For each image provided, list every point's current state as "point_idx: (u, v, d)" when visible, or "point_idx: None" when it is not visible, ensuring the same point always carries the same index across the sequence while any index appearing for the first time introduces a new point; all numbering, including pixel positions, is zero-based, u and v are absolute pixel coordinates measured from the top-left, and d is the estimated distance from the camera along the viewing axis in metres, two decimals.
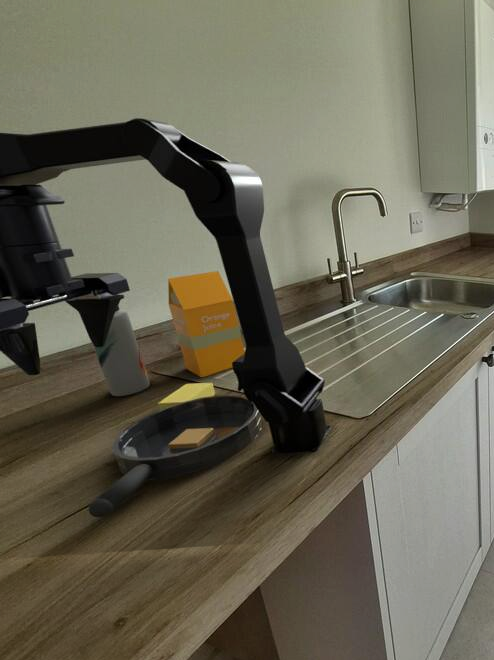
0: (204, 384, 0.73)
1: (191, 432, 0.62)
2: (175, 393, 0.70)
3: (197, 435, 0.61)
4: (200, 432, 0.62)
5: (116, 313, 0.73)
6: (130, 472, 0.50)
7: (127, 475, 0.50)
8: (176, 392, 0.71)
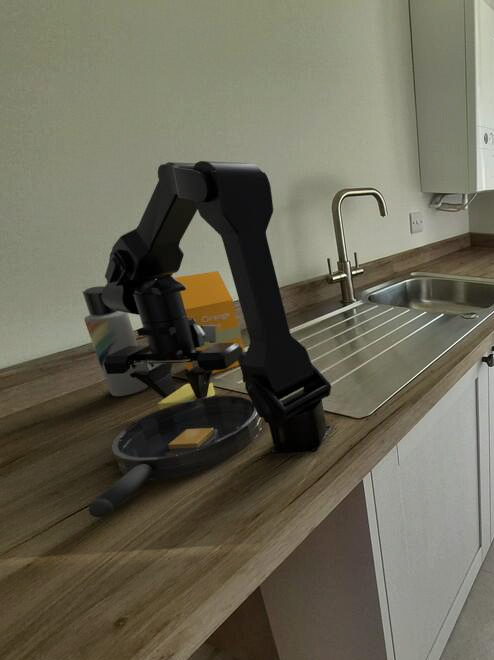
0: None
1: (191, 432, 0.62)
2: (175, 393, 0.70)
3: (197, 435, 0.61)
4: (200, 432, 0.62)
5: (116, 313, 0.73)
6: (130, 472, 0.50)
7: (127, 475, 0.50)
8: (176, 392, 0.71)
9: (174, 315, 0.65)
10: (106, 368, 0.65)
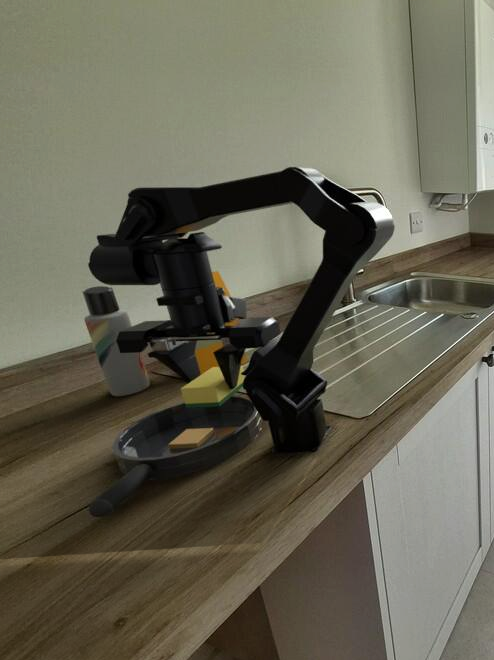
0: None
1: (191, 432, 0.62)
2: (200, 377, 0.59)
3: (197, 435, 0.61)
4: (200, 432, 0.62)
5: (116, 313, 0.73)
6: (130, 472, 0.50)
7: (127, 475, 0.50)
8: (201, 376, 0.59)
9: (207, 279, 0.54)
10: (119, 346, 0.54)
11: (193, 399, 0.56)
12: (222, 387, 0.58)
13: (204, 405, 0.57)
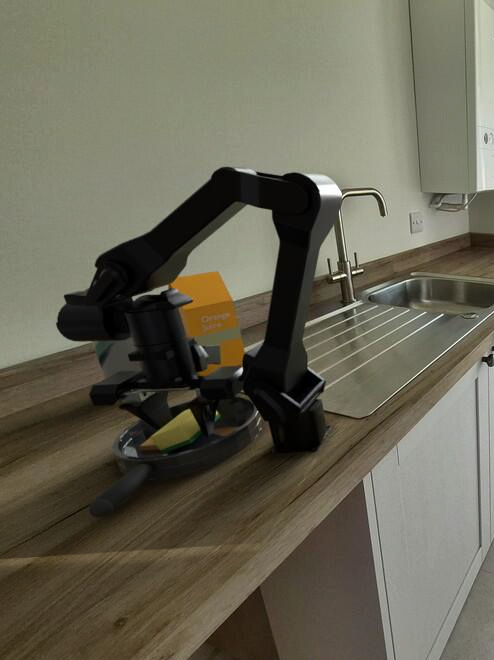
0: None
1: None
2: (170, 422, 0.60)
3: None
4: None
5: None
6: (130, 472, 0.50)
7: (127, 475, 0.50)
8: (171, 421, 0.60)
9: (179, 333, 0.56)
10: (92, 400, 0.55)
11: (165, 443, 0.58)
12: (189, 425, 0.58)
13: (177, 446, 0.58)
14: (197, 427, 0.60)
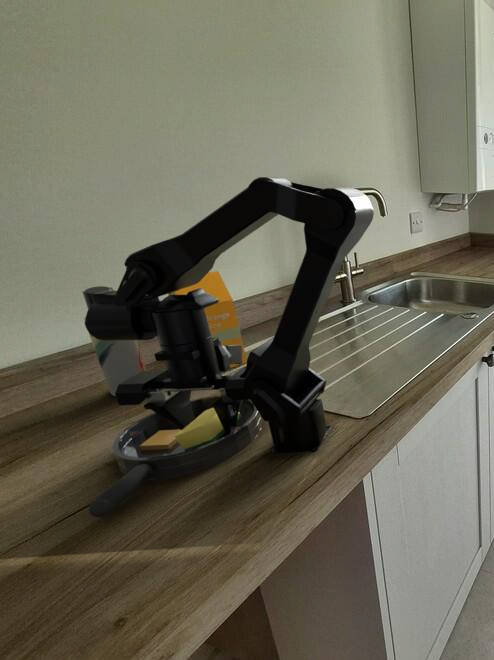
0: None
1: (163, 433, 0.62)
2: (193, 422, 0.60)
3: (169, 436, 0.61)
4: (172, 433, 0.62)
5: None
6: (130, 472, 0.50)
7: (127, 475, 0.50)
8: (194, 421, 0.61)
9: (205, 333, 0.56)
10: (118, 399, 0.55)
11: (189, 443, 0.58)
12: (212, 425, 0.59)
13: (201, 445, 0.58)
14: (220, 427, 0.60)
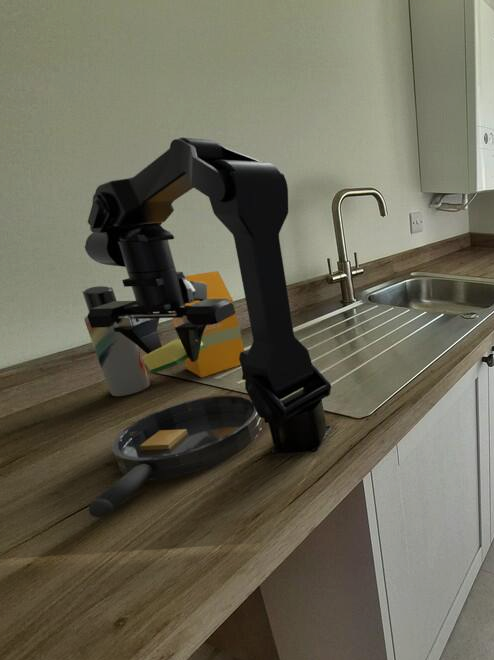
0: None
1: (163, 433, 0.62)
2: (159, 348, 0.67)
3: (169, 436, 0.61)
4: (172, 433, 0.62)
5: None
6: (130, 472, 0.50)
7: (127, 475, 0.50)
8: (160, 347, 0.67)
9: (162, 266, 0.62)
10: (90, 321, 0.62)
11: (154, 364, 0.64)
12: (176, 349, 0.65)
13: (165, 367, 0.65)
14: (183, 352, 0.67)
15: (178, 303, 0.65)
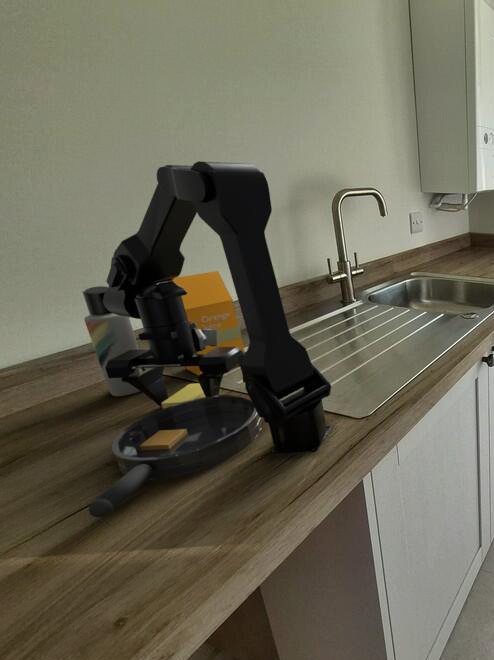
0: None
1: (163, 433, 0.62)
2: (178, 393, 0.70)
3: (169, 436, 0.61)
4: (172, 433, 0.62)
5: None
6: (130, 472, 0.50)
7: (127, 475, 0.50)
8: (179, 392, 0.71)
9: (175, 319, 0.65)
10: (108, 372, 0.65)
11: None
12: None
13: None
14: None
15: (190, 353, 0.68)
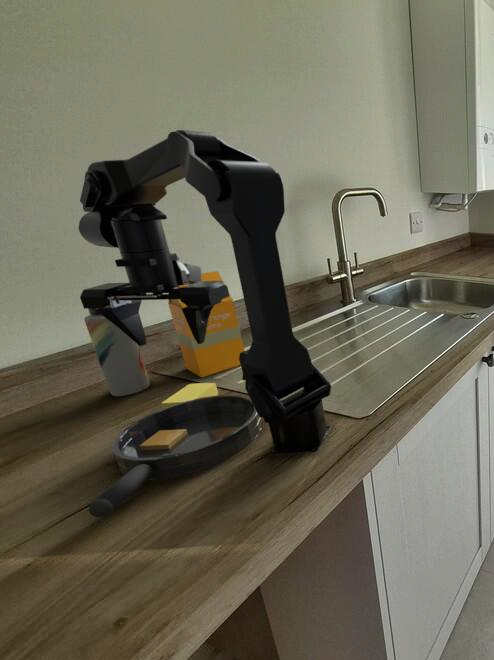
0: (207, 384, 0.73)
1: (163, 433, 0.62)
2: (178, 393, 0.70)
3: (169, 436, 0.61)
4: (172, 433, 0.62)
5: None
6: (130, 472, 0.50)
7: (127, 475, 0.50)
8: (179, 392, 0.71)
9: (155, 246, 0.62)
10: (83, 302, 0.62)
11: None
12: None
13: None
14: None
15: (172, 284, 0.64)
